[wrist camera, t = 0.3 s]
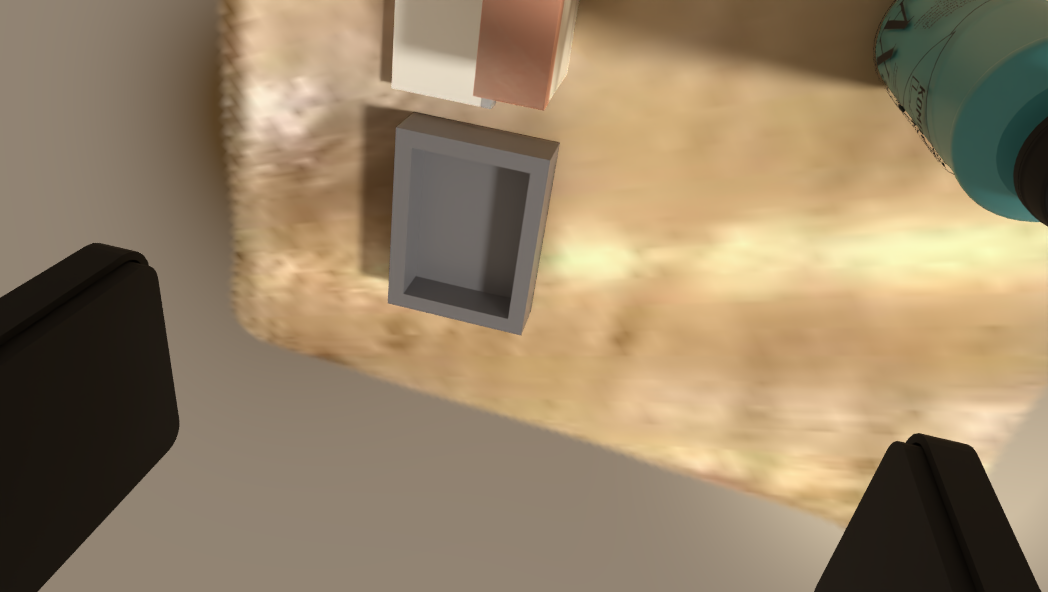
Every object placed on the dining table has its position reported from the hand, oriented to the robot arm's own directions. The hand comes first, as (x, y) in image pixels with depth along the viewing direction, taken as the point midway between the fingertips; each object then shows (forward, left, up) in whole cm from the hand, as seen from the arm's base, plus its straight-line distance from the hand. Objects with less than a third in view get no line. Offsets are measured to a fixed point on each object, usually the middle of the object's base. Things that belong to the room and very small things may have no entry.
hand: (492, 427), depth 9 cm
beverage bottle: (-1, +14, -35) cm, 37 cm away
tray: (+15, -8, -34) cm, 38 cm away
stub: (+1, -6, -35) cm, 35 cm away
